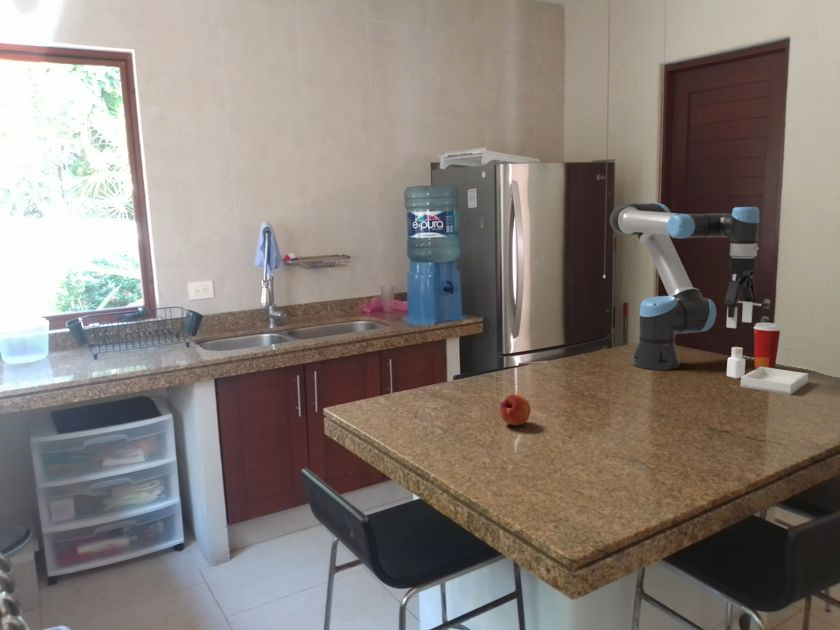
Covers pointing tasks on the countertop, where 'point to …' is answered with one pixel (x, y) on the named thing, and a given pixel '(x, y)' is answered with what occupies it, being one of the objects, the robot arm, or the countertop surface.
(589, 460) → the countertop surface
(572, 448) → the countertop surface
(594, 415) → the countertop surface
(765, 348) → the coffee cup
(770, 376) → the bin
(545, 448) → the countertop surface
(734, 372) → the salt shaker
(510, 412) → the fruit
